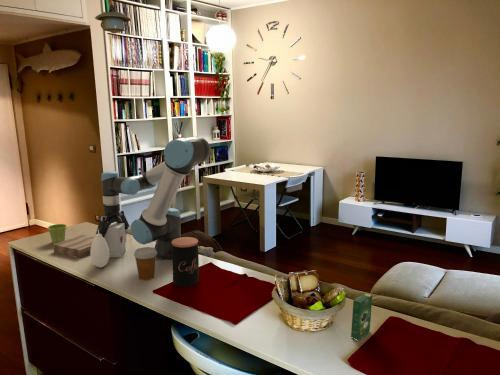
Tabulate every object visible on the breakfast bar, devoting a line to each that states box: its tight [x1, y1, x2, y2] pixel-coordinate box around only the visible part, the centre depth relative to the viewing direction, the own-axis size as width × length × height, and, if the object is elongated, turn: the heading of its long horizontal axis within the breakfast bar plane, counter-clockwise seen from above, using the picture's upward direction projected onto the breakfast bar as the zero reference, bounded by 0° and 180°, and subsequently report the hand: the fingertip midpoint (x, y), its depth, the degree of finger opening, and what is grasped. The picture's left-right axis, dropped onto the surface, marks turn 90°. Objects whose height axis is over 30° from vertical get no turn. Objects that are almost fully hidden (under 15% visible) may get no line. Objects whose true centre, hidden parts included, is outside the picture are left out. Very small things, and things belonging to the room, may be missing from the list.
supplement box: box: [104, 222, 127, 258], centre depth 202 cm, size 9×9×15 cm
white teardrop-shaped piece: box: [89, 229, 110, 269], centre depth 186 cm, size 8×8×18 cm
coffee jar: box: [171, 236, 200, 288], centre depth 170 cm, size 11×11×18 cm
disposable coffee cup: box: [133, 246, 157, 281], centre depth 176 cm, size 10×10×12 cm
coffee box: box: [350, 292, 373, 341], centre depth 132 cm, size 8×3×13 cm, turn 137°
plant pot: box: [47, 223, 68, 245], centre depth 221 cm, size 9×9×9 cm
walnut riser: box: [52, 234, 96, 259], centre depth 210 cm, size 18×18×4 cm
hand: (114, 246), depth 203 cm, fingers open, 13 cm apart
